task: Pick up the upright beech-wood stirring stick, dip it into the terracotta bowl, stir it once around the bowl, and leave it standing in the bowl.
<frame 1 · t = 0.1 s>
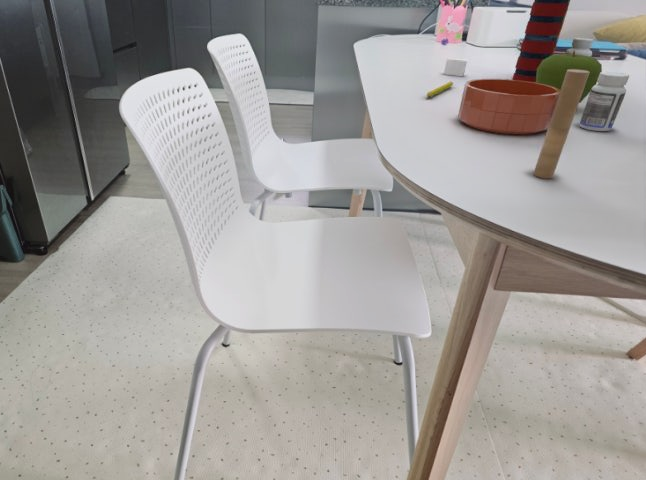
eraser: (453, 75, 120), on the table
pencil: (438, 93, 100), on the table
red striped curved tube: (529, 85, 111), on the table
bowl: (501, 124, 78), on the table
apple: (556, 108, 90), on the table
stirring stick: (542, 175, 58), on the table
supplement bottle: (567, 86, 110), on the table
pill bottle: (593, 129, 78), on the table
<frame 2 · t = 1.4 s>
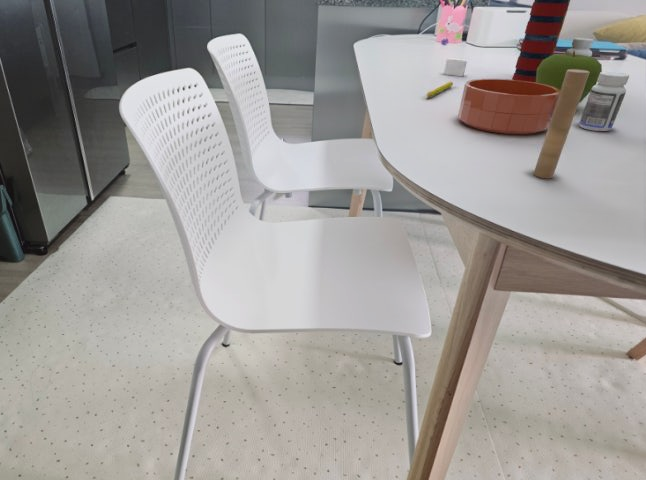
nothing on the table moved.
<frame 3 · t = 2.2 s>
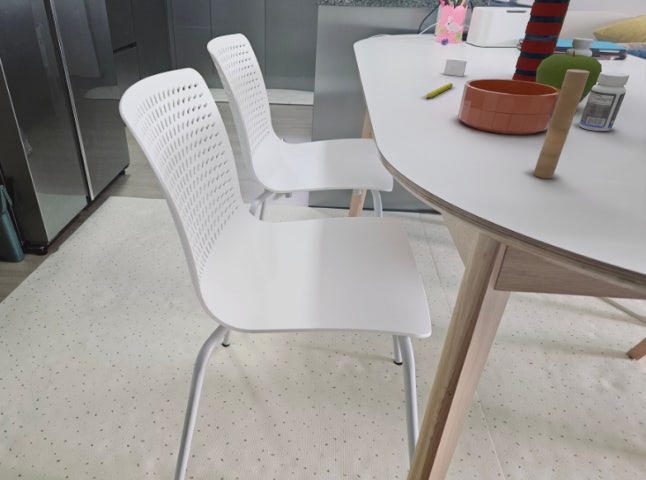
nothing on the table moved.
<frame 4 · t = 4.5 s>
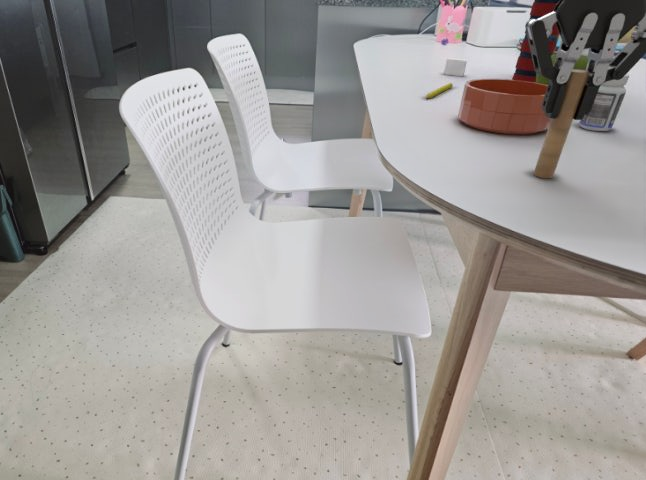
hand: (563, 116, 54), 7 cm above the table, tool pointing down, fingers closed on stirring stick, 2 cm apart
stirring stick: (543, 175, 58), on the table, touching gripper
everything else where it was.
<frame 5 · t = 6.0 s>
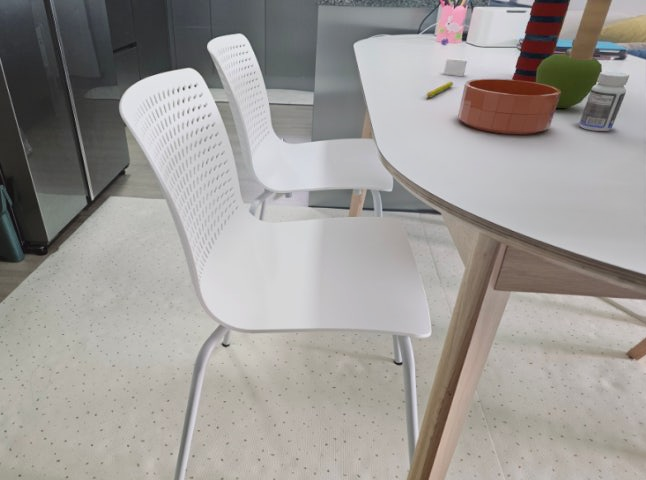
stirring stick: (580, 58, 51), point 13 cm above the table, touching gripper
everything else where it was.
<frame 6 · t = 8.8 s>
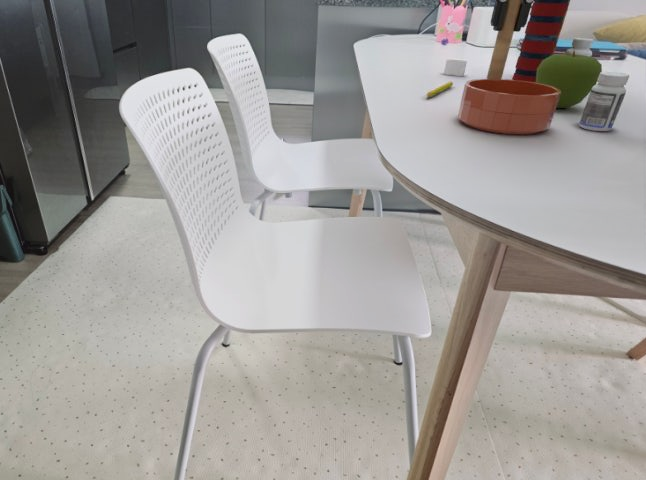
hand: (506, 30, 71), 14 cm above the table, tool pointing down, fingers closed on stirring stick
stirring stick: (493, 79, 75), point 7 cm above the table, touching gripper
everything else where it was.
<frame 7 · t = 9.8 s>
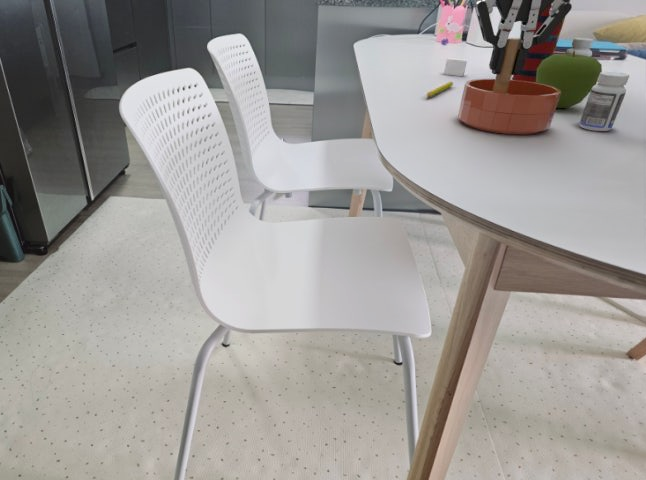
hand: (504, 73, 74), 8 cm above the table, tool pointing down, fingers closed on stirring stick, 2 cm apart
stirring stick: (492, 119, 77), point 1 cm above the table, touching gripper
everything else where it was.
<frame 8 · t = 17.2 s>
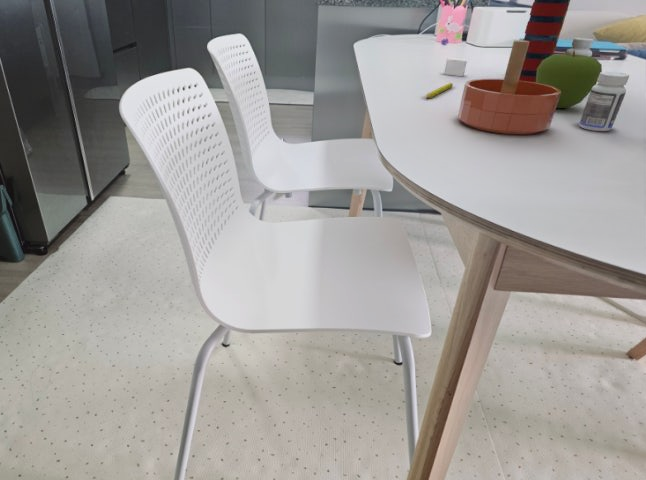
stirring stick: (500, 120, 78), point 1 cm above the table, touching bowl
everything else where it was.
at the end: stirring stick inside the target area in the bowl (0.4 cm from its centre), point 0.6 cm above the bowl's base; the gripper is holding nothing; stirring stick moved 25.0 cm from its start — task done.
